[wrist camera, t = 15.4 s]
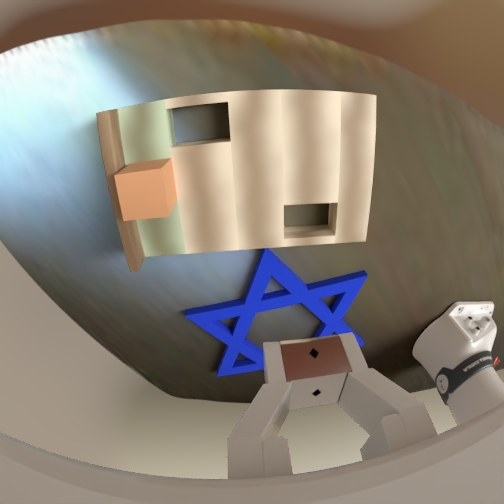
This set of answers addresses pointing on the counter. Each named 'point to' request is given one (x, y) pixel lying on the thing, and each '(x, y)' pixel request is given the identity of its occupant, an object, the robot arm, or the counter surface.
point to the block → (146, 189)
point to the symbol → (262, 302)
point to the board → (248, 170)
